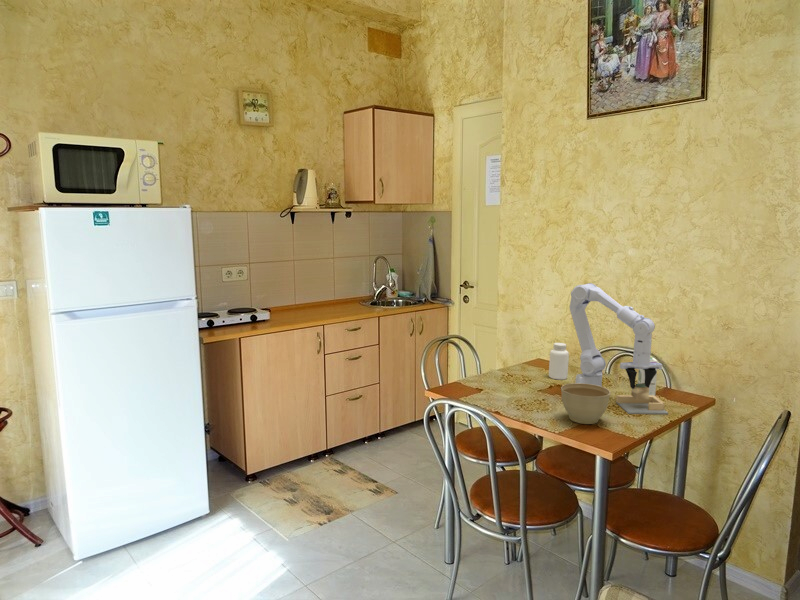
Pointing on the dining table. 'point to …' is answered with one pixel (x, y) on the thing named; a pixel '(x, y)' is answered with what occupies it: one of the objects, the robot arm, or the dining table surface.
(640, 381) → the syrup box
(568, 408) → the planter bowl
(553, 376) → the pill bottle
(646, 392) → the cabinet block
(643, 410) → the wall board
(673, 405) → the dining table surface
